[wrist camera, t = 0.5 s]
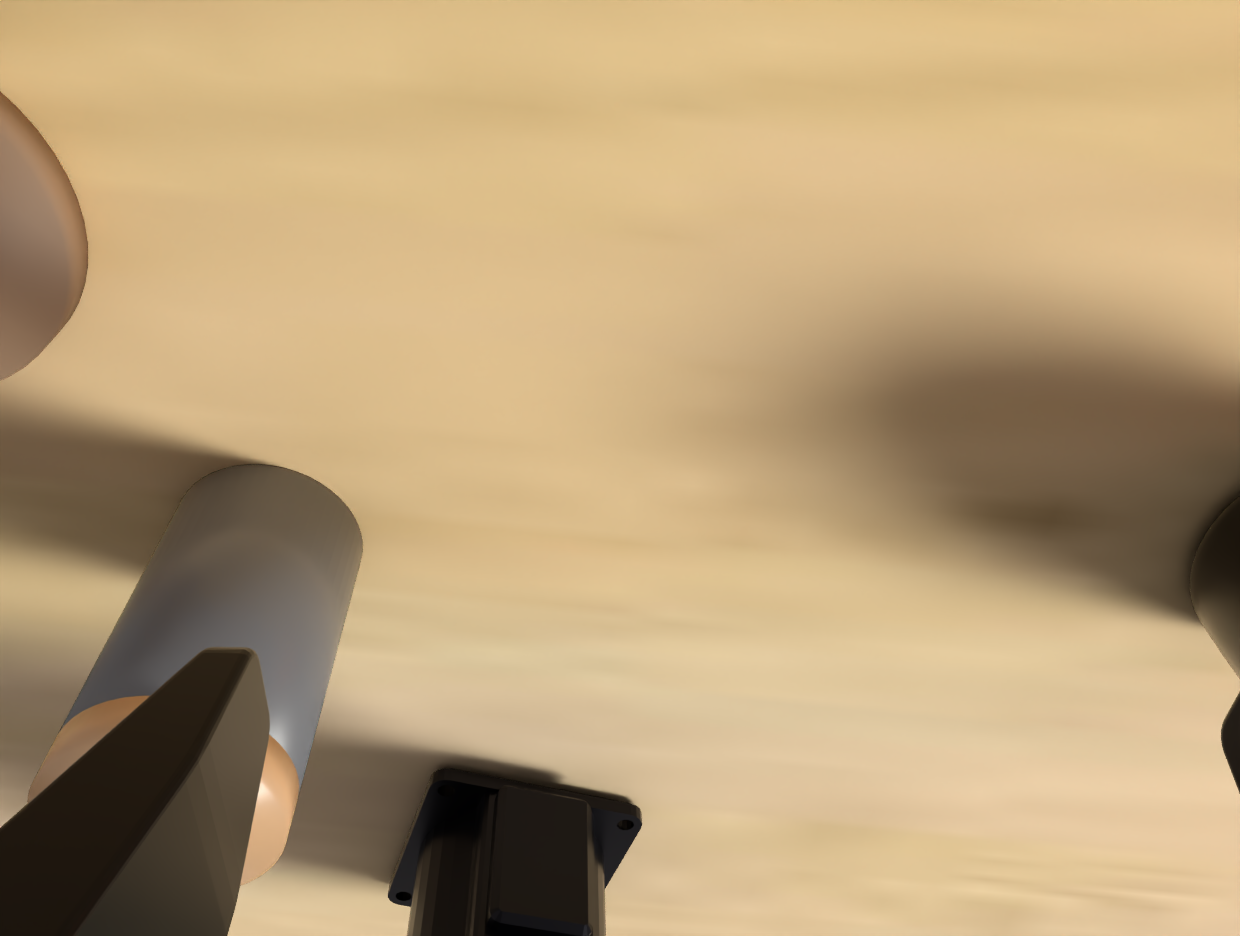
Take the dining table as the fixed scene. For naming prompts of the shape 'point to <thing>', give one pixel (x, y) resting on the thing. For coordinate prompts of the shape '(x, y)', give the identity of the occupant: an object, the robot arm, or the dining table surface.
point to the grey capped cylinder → (234, 623)
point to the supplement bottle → (1220, 583)
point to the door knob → (35, 242)
